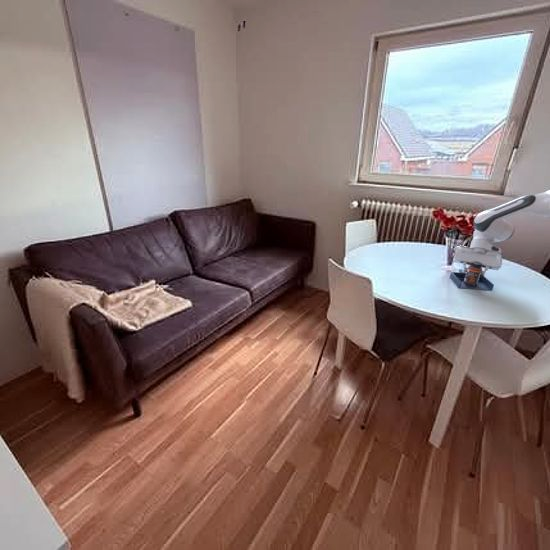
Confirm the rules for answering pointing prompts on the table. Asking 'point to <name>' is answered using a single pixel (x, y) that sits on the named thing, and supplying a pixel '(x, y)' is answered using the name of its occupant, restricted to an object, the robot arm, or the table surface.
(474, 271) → the supplement bottle
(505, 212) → the robot arm
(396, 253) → the table surface
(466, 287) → the blue tray
